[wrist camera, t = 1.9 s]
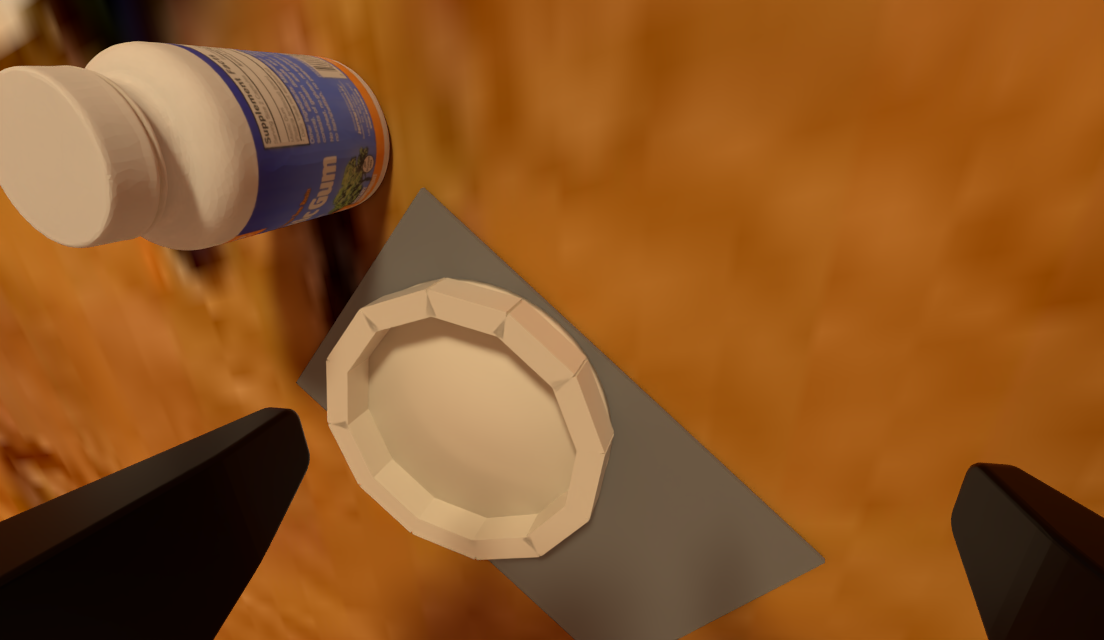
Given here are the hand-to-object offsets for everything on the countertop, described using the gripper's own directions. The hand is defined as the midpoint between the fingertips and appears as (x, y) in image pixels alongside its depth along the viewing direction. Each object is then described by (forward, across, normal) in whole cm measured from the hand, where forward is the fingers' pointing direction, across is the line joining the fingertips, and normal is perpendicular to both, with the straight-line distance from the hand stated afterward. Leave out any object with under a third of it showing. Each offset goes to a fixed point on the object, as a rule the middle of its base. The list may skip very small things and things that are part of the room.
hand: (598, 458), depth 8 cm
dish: (+12, +6, +8) cm, 16 cm away
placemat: (+12, +4, +10) cm, 16 cm away
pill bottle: (+14, +11, -2) cm, 18 cm away
